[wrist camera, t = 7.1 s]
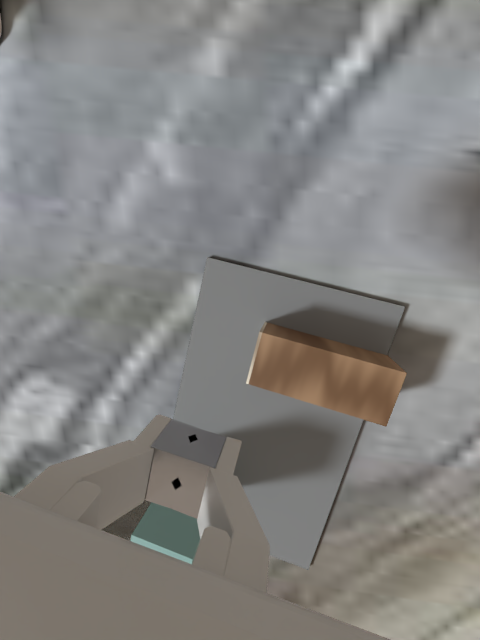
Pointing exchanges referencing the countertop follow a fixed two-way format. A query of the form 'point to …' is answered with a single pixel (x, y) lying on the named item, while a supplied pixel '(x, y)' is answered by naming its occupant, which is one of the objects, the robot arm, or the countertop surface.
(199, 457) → the robot arm
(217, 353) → the mat
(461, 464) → the countertop surface
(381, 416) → the walnut block
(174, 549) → the teal block
